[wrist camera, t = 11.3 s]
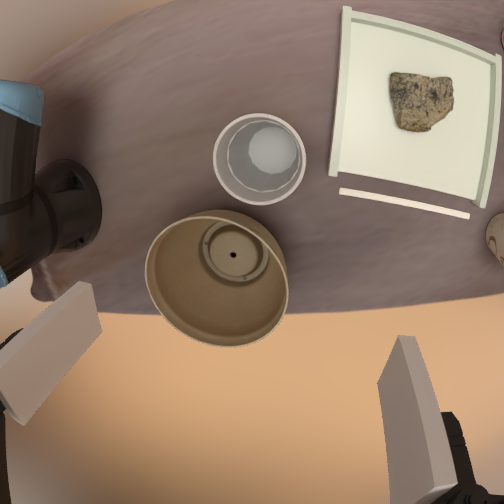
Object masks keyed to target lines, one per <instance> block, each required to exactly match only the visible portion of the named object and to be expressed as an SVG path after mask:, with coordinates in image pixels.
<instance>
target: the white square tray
mask: <svg viewBox="0 0 504 504" xmlns="http://www.w3.org/2000/svg"><path fill="white" fill-rule="evenodd" d="M351 10H352V7H348V6H343V7H342V11H341V27H340V45H339V61H338V75H337V87H336V98H335V109H334V119H333V128H332V137H331V146H330V154H329V163H328V170H327V173H328V176H334V177H337V173H338V171H341V172H347V173H353V174H359V175H365V176H370V177H375V178H381V179H386V180H391V181H396V182H401V183H406V184H410V185H415V186H420V187H424V188H428V189H433V190H437V191H441V192H445V193H449V194H453V195H457V196H461V197H465V198H469V199H472V200H471V202H472V203H474V204H475V205H477V206H479V207H481V208H485V206H486V202H487V198H488V193H489V188H490V183H491V178H492V173H493V167H494V161H495V154H496V147H497V139H498V131H499V120H500V107H501V84H502V61H501V56H500V55H498V54H496V53H495V54H492V55H491V54H489V53H487V52H485V51H483V50H480V49H478V48H476V47H473V46H471V45H469V44H466V43H464V42H461V41H459V40H456V39H454V38H451V37H448V36H446V35H443V34H440V33H437V32H434V31H431V30H428V29H425V28H422V27H419V26H415V25H412V24H408V23H405V22H401V21H397V20H393V19H389V18H385V17H381V16H376V15H372V14H367V13H362V12H357V11H351ZM393 72H400V73H412V74H420V75H423V76H429V77H430V78H436V77H450V78H451V79H452V82H453V83H452V86H453V90H454V92H453V97H454V105H453V110H452V111H450V112H449V113H448V115H447V116H446V117H445V118H444V119H442V120H441V121H439V122H438V123H436V124H434V125H433V126H432V127H431V130H430V131H428V132H411V131H407V130H404V129H400V128H399V127H398V125H397V123H396V117H395V113H394V111H395V109H394V107H393V105H394V102H393V100H392V99H391V95H390V87H389V86H390V75H391V73H393Z"/></svg>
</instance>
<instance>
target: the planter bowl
mask: <svg viewBox="0 0 504 504" xmlns="http://www.w3.org/2000/svg"><path fill="white" fill-rule="evenodd" d="M233 252H234V253H236V256H235V257H232V256H231V253H233ZM145 280H146V285H147V289H148V292H149V294H150V297H151V299H152V301H153V303H154V305H155V306H156V308H157V309H158V311H159V312H160V314H161V315H162V316H163V317H164V318H165V319H166V321H167V322H168V323H169V324H171V325H172V326H173V327H174V328H175V329H176V330H178V331H180V332H181V333H182V334H184V335H186V336H187V337H190V338H191V339H193V340H196V341H198V342H201V343H203V344H207V345H211V346H216V347H241V346H246V345H250V344H253V343H255V342H257V341H260V340H261V339H263V338H265V337H266V336H268V335H269V334H270V333H271V332H272V331H273V330H274V329H275V328H276V327H277V326H278V325H279V323H280V322H281V320H282V318H283V316H284V314H285V311H286V308H287V304H288V298H289V283H288V275H287V267H286V263H285V259H284V256H283V253H282V251H281V249H280V247H279V245H278V243H277V242H276V240H275V238H274V237H273V236H272V235H271V233H270V232H269V231H268V230H267V229H266V228H265V227H264V226H263V225H261V224H260V223H259V222H257V221H256V220H254V219H252V218H251V217H249V216H246V215H244V214H241V213H238V212H235V211H230V210H207V211H202V212H198V213H195V214H193V215H190V216H188V217H186V218H183V219H180V220H178V221H176V222H174V223H172V224H171V225H169V226H168V227H166V228H165V229H164V230H162V231H161V232H160V233H159V234H158V235H157V237H156V238H155V239H154V241H153V242H152V244H151V246H150V248H149V251H148V253H147V257H146V262H145Z"/></svg>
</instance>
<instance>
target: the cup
mask: <svg viewBox="0 0 504 504" xmlns="http://www.w3.org/2000/svg"><path fill="white" fill-rule="evenodd" d="M213 166H214V170H215V174H216V176H217V178H218V180H219V182H220V184H221V185H222V186H223V188H224V189H225V190H226V191H227V192H228V193H229V194H230V195H232V196H233V197H235V198H236V199H238V200H240V201H242V202H245V203H248V204H253V205H268V204H273V203H276V202H279V201H281V200H283V199H284V198H286V197H288V196H289V195H290V194H291V193H292V192H293V191H294V190H295V189H296V188H297V187H298V185H299V184H300V182H301V180H302V178H303V175H304V172H305V168H306V153H305V148H304V145H303V142H302V140H301V138H300V136H299V135H298V133H297V132H296V131H295V130H294V128H293V127H292V126H290V125H289V124H288V123H287V122H285V121H284V120H282V119H280V118H278V117H276V116H273V115H269V114H263V113H255V114H248V115H244V116H242V117H239V118H237V119H235V120H234V121H232V122H231V123H229V124H228V125H227V126H226V127H225V128H224V129H223V131H222V132H221V133H220V135H219V137H218V138H217V141H216V143H215V146H214V151H213Z"/></svg>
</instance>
